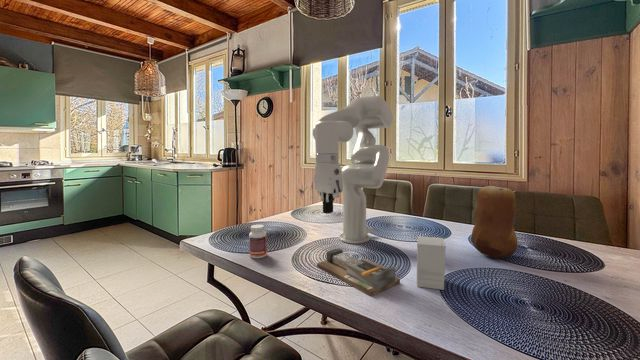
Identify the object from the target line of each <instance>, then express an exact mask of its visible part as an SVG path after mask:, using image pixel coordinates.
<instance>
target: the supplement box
mask: <svg viewBox="0 0 640 360" xmlns="http://www.w3.org/2000/svg"><path fill="white" fill-rule="evenodd" d="M416 244H417V245H416V253H417V254H416V286H417V288H418V287H419V288H427V289H434V290H442V291H443V290H445V273H446V248H447V247H446V246H447V245H446V243H445V240H444V237H434V236H433V237H431V236H420V235H419V236H417V243H416Z"/></svg>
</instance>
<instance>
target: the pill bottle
mask: <svg viewBox="0 0 640 360" xmlns="http://www.w3.org/2000/svg"><path fill="white" fill-rule="evenodd" d="M248 241H249V242H248V243H249V246H248V247H249V256H250V258H252V259H263V258H265V257H267V255H268V245H267V243H268V242H267V232H266V231H265V226H264V224H253V225H251V226H250V232H249V234H248Z"/></svg>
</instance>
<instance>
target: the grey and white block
mask: <svg viewBox="0 0 640 360" xmlns="http://www.w3.org/2000/svg"><path fill="white" fill-rule="evenodd" d="M326 260H327V261H328V262H330V263H331V262H333V263H335V264H337V265H339V266H341V267H343V268H345V269H347V264H350V263H351V264H353V265H355V266H357V267H359V268H362V269H364V270H365V262H362V261H361V260H359V259H358V258H356V257H353V256H350V255H348V254H346V253H344V252H343V249H341V248H336V249H332V250H329V251H326Z"/></svg>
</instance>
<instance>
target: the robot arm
mask: <svg viewBox="0 0 640 360" xmlns="http://www.w3.org/2000/svg"><path fill="white" fill-rule="evenodd" d="M393 121H394V116H393V111H392V109H391V108H390V107H389V104H388V103H387V102H386V100H385V99H384V98H383V97H381V96H379V95H376V96H364V97H358V98H355V99H353V100H352V101H351V102H350V103H348V105H347V106H345V107H344V108H341V109H338V110H336V111H334V112H333V111H332V112H331V113H329V114H326V115H324V116H322V117H320V119H318V120H317V121H316V122H315V124H314V125H313V128H312V137H313V139H314V141H315V143H314V145H315V168H314V190H316V193H317V194H318V195H319V196H320V198H321V202H322V213H323V214H325V215H327V214H331V213H334V202H335V199H337V198H340V193H342V195H343V196H342V216H343V217H342V218H343V219H342V221H343V222H342V233H341V234H339V240H340V241H341V242H343V243H347V244H351V245H352V244H353V245H354V244H357V245H358V244H365V243H367V242H369V241H370V239H371V238H370V235H369V233H372V232H374V229H375V228H374V227H373V226H370V227H367V196H366V193H365V192H364V190H363V189H379V188H381V187H382V186H383V184H384V181H385V178H386V174H387V170H388V166H389V161H390V151H389V148H388V147H387V146H385V145H384V144H376V143H377V140H376V137H375V136H374V134H373V132H371V131H370V130H369V129H387V128H390V127H391V126H392V124H393ZM354 129H355V130H354ZM354 132H355V135H356V141H355V142H354V143H355V144H354V147H353V150H352V152H351V156H350V162H351V163H349V164H346V165H344V166H343V167H342V168H341V163H340V162H339V144H342V143H347V142H349V141H351V139H352V138H353V136H354Z"/></svg>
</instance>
